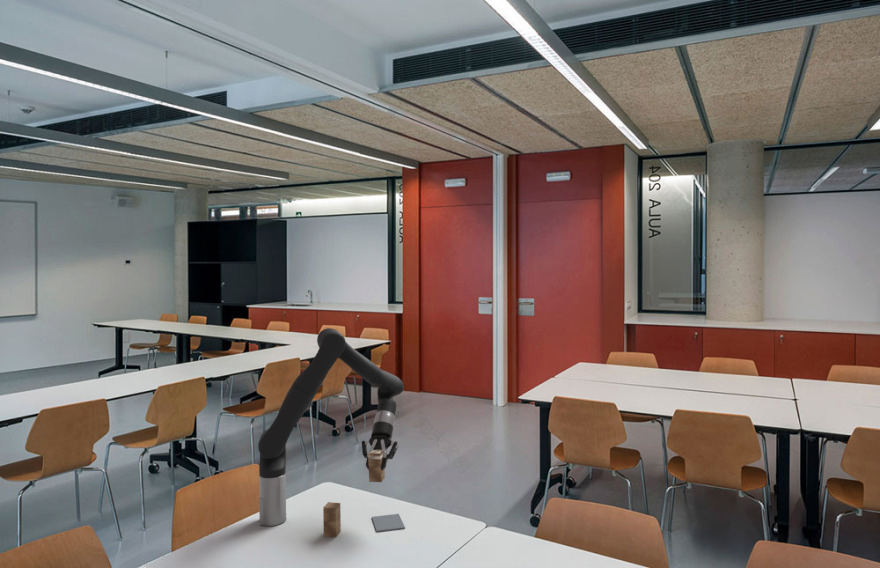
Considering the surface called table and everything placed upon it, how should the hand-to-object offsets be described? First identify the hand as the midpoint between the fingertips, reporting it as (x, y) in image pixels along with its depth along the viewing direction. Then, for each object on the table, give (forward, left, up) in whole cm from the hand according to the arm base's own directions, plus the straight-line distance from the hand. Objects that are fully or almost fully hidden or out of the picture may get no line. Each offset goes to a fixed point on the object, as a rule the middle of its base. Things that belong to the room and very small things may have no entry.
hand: (375, 468), depth 204 cm
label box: (+1, +2, -5) cm, 5 cm away
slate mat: (+5, +2, -21) cm, 21 cm away
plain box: (-15, -1, -21) cm, 26 cm away
